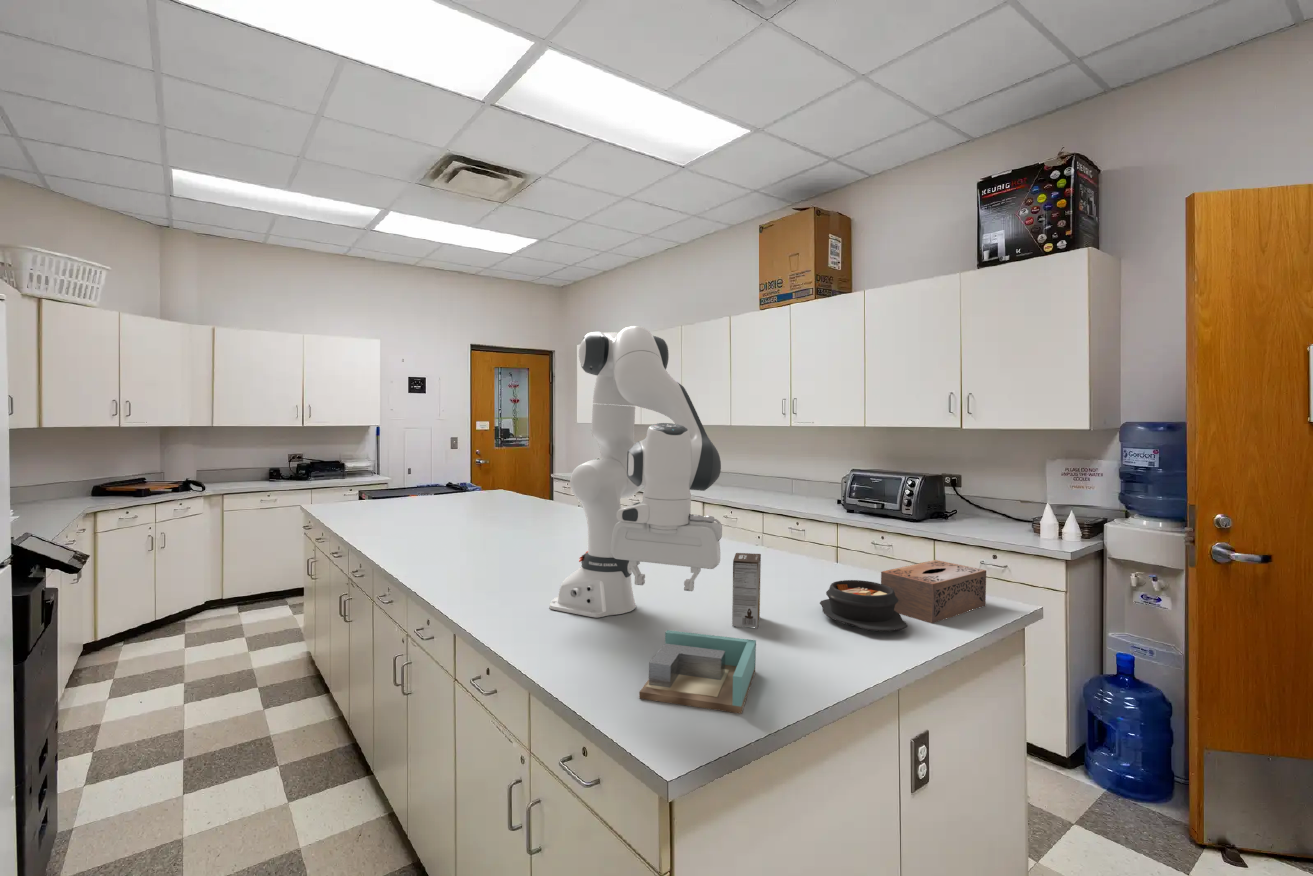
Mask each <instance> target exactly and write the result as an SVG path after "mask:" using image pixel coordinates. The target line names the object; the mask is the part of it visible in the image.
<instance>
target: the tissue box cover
mask: <svg viewBox="0 0 1313 876" xmlns="http://www.w3.org/2000/svg"><path fill="white" fill-rule="evenodd" d="M880 573H881V574H880V584H883V585H886V586H888V587H890V588H892V589H893V590H894V592H895V595H896V597H897V598H898V602H897V603H896V604H895V608H894V611H896V612H897V613H899V614H900V615H902V616H906V617H909V618H912V619H914V620H915V619H916V620H919V621H922V622H925V623H929V624H934V623H938V622H942V621H944V620H947V619H950V618H954V617H956V615H957V616H959V615H958V614H960V615H962V614H966V613H968V612H967V611H969V610H972V609H975V610H977V609H976V608H978V609H980V608H979V607H981V608H983V607H982V606H984V607H986V605H987V604H986V597H987V593H986V592H987V570H986V569H981V568H977V567H973V566H968V565H967V566H966V565H962V564H958V563H954V562H953V563H952V562H948V561H943V560H939V559H933V560H928V561H925V562H920V563H915V564H912V565H910V564H909V565H906V566H902V567H901V566H900V567H897V568H891V569H887V570H883V571H880ZM972 611H973V610H972ZM965 612H966V613H965ZM969 612H970V611H969ZM953 616H954V617H953ZM946 618H947V619H946ZM943 619H944V620H943Z"/></svg>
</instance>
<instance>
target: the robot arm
mask: <svg viewBox="0 0 1313 876" xmlns="http://www.w3.org/2000/svg"><path fill="white" fill-rule="evenodd" d="M669 355H670V353H669V346H668V344H667V343H666V341H665V339H664V338H661V337H659V336H655V335H653V334H652V333H651V332H650V331H649V330H648V329H647V328H645V327H644V326H641V325H639V326H638V325H631V326H627V327H624V328H623V329H621V330H620V331H619V332H617V331H615V332H614V331H613V332H611V331H610V332H608V331H607V332H605V331H604V332H602V331H600V330H597V331H591V332H588V333H586V334H585V335H584V336H583V337H582V340H581V342H580V345H579V347H578V358H579V359H578V360H579V363H580V368H581V369H582V370H583V371H584V372H585V373H586V374H588V375H592V376H596V378H595V382H594V388H593V389H594V390H593V396H592V407H591V408H592V410H591V411H592V412H591V429H590V431H591V435H592V437H593V439H594V440H595V441H596V442H597V445H598V447H599V452H600V458H598V459H597V458H596V459H590V460H588V461H586V462H583V463H581V464H579V465H577V466H576V467H575V468H574V469H573V470H572V473H571V474H570V479H569V486H570V489H571V493H572V494H573V496H574V497H575V498H576V499H577V500H578V501H579V502H580V504H581V506H582V508H583V511H584V514H585V517H586V523H587V551H585V553H583V554H582V555H581V556H580V557H578V559H579V560H578V562H579V563H581V567H579V568H578V569H576V570H575V571H573V572H571V574H570V575H568V576H566V578H564V580H563V581H562V582H561V583H560V585H559V586H560V587H559V590H558V595H557V596H555V597H554V598H553V599H551V600H550V603H549V609H550V610H555V611H558V612H564V613H570V614H574V615H575V614H576V615H579V616H584V617H591V618H598V619H599V618H603V617H606V616H615V615H621V614H626V613H629V612H631V611H633V610H634V609H635V610H636V608H637V604H636V602H635V596H634V590H633V586H632V585H633V584H632V574H633V576H634V585H635V586H644V585H645V584H646V583H645V582H646V580H645V578H646V574H645V573H642V572H641V570H640V568H639V565H641V563H650V564H659V565H660V564H661V565H668V566H669V565H670V566H676V567H677V566H679V567H686V568H687V567H688V568H690V573H691V574H692V576H691V577H690V578H686V579H685V580H684V582H683V586H684V588H683V590H684V591H686V592H693V591H694V589H695V580H696V579H697V577H698V576H699V574H700V572H701V571H702V570H701V569H704V570H705V569H707V570H715V568H717V567H718V566H719V565H720V563H721V544H720V543H721V542H720V540H721V538H722V536H723V525H722V523H721V521H719V520H718V519H717V518H715V517H714V516H711V515H706V516H705V515H700V514H691V513H692V512H691V511H692V509H691V505H692V493H691V491H700V492H701V491H702V492H705V491H706V490H708V489H709V488H710V487H712V486H713V485H714V484H715V483H716V482H717V480H718V479H719V477H720V475H721V472H722V471H721V470H722V463H721V456H720V453H719V451H718V449H717V447H716V446H715V444H714V443H713V441H712V440H711V439H710V438H709V435H708V434H707V432H706V429H705V428H704V426H703V424H702V422H701V419H700V417H699V414H698V412H697V410H696V408H695V406H694V404H693V402H692V400H691V397H690V395H689V394H688V392H687V389H686V388H685V387H684V386H683V384H681V383H680V382H678V381H676V380H675V378H673V377H672V376H671V375H670V373H668V371H667V368H668V363H669V358H670V356H669ZM636 407H640V408H642V409H646V410H650V411H652V412H656V413H659V414H661V415H664V416H666V417H668V418H669V419H671V420H672V421H673V423H671V422H659V423H658V422H657V423H654V424H651V425H650V426H648V428H647V431H646V437H645V438H644V439H642V440H637V441H636V440H635V438H636V437H635V422H636V421H635V420H636ZM642 489H644V490H643V493H642V501H641V502H635V503H633V504H629V505H627V506H626V505H625V506H623V507H622V504H621V500H622V499H625V498H630V497H632V496H633V495H636V494H637V493H638V492H640V491H642Z"/></svg>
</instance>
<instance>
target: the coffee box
mask: <svg viewBox="0 0 1313 876" xmlns="http://www.w3.org/2000/svg"><path fill="white" fill-rule="evenodd" d="M761 556H762V554H761V553H752V552H751V553H749V552H736V553H735V554H734V558H733V559H732V605H731V606H732V608H731V609H732V612H731V614H732V615H731V616H732V617H731V618H732V619H731V620H732V621H731V622H732V623H731V625H732V627H733V626H736V627H735V628H745V627H755V628H754V629H758V628H759V624H760V618H761V615H760V613H761V612H760V611H761V610H760V609H761V569H762V567H761V566H762V564H761V563H762V562H761V559H762V558H761Z"/></svg>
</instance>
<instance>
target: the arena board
mask: <svg viewBox="0 0 1313 876" xmlns="http://www.w3.org/2000/svg"><path fill="white" fill-rule="evenodd" d="M736 667H737V666H731V665H725V673H724V675H723V677H722V679H721V680H716V679H709V678H702V677H694V676H687V675H680V674H679V675H678V677H677V678H676V680H675V681H674V683H673V684H672V686H671V687H670V688H669V687H662V686H655V685H649V678H648V679H647V681H645V683H644V685H643V686H642V688H641V689H640V690H639V693H638V694H639V696H638V697H639V700H640V699H641V700H647V701H648V700H649V701H653V702H654V701H655V702H661V703H666V704H674V705H681V706H687V707H694V708H701V709H705V710H706V709H707V710H714V711H722V712H727V713H734V714H739V715H740V714H743V710H744V706H745V703H746V701H747V697H748V695H749V691H750V688H751V686H752V683H753V680H754V678H755V677H754V676H755V675H756V674H755V673H756V667H755V668H754V671H753V674H752V677H751V680H750V683H749V686H748V689H747V692H746V695H745V697H744V700H743V703H742V706H741V707H740V706H733V705H732V703H733V675H734V672H735V670H736Z"/></svg>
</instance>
